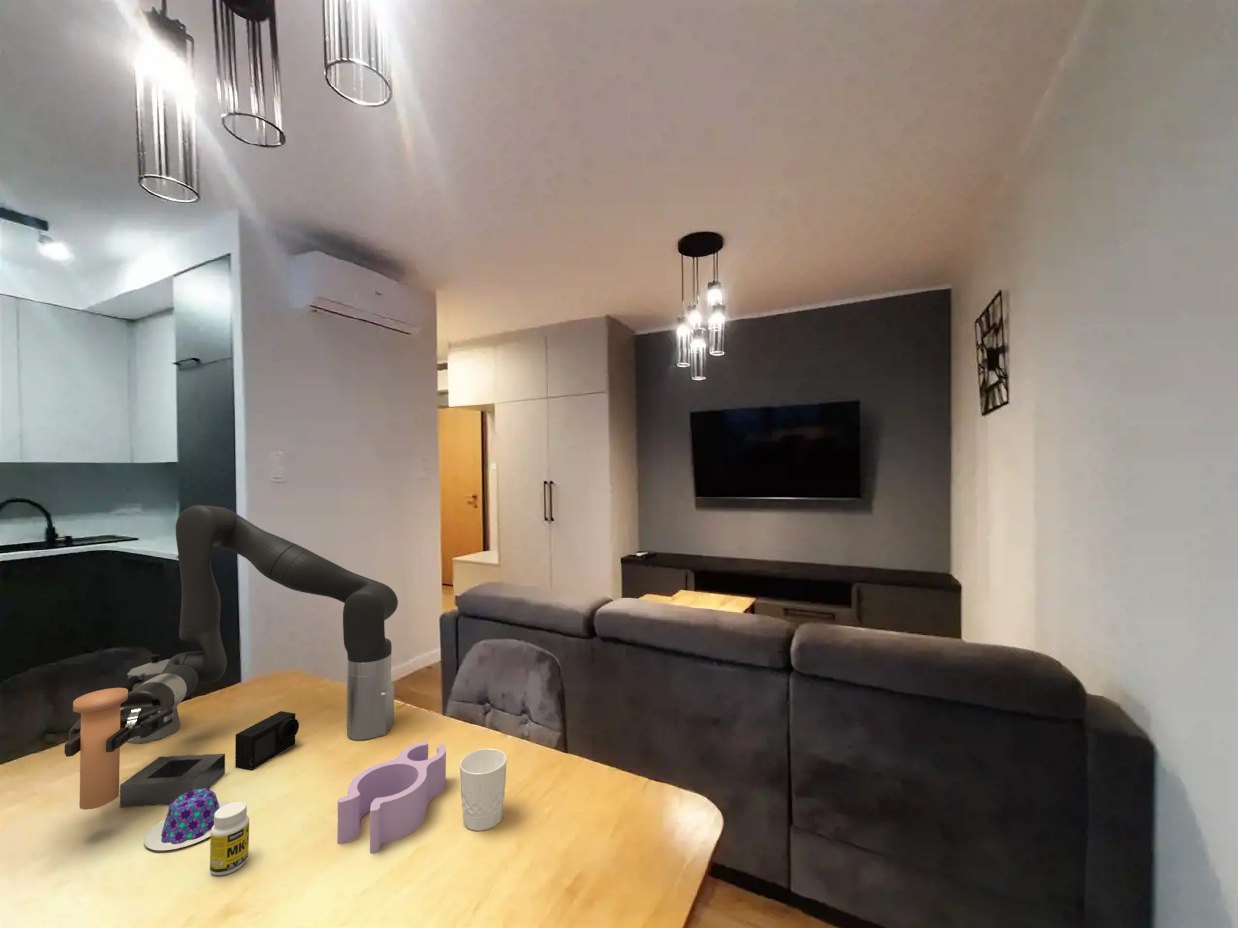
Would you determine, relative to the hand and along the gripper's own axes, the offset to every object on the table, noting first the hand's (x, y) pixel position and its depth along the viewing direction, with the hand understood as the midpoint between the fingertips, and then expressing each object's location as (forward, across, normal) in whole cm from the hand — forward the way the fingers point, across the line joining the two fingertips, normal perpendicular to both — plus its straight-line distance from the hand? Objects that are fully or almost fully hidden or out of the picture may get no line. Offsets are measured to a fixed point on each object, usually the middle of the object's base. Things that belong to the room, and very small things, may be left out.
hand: (89, 748), depth 83 cm
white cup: (+10, +61, +15) cm, 64 cm away
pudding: (-1, +14, +16) cm, 21 cm away
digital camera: (-22, +18, +16) cm, 33 cm away
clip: (+3, +47, +16) cm, 49 cm away
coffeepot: (-38, -11, +17) cm, 43 cm away
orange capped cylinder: (-3, 0, +10) cm, 10 cm away
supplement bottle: (+10, +24, +16) cm, 30 cm away
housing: (-14, +5, +16) cm, 22 cm away
